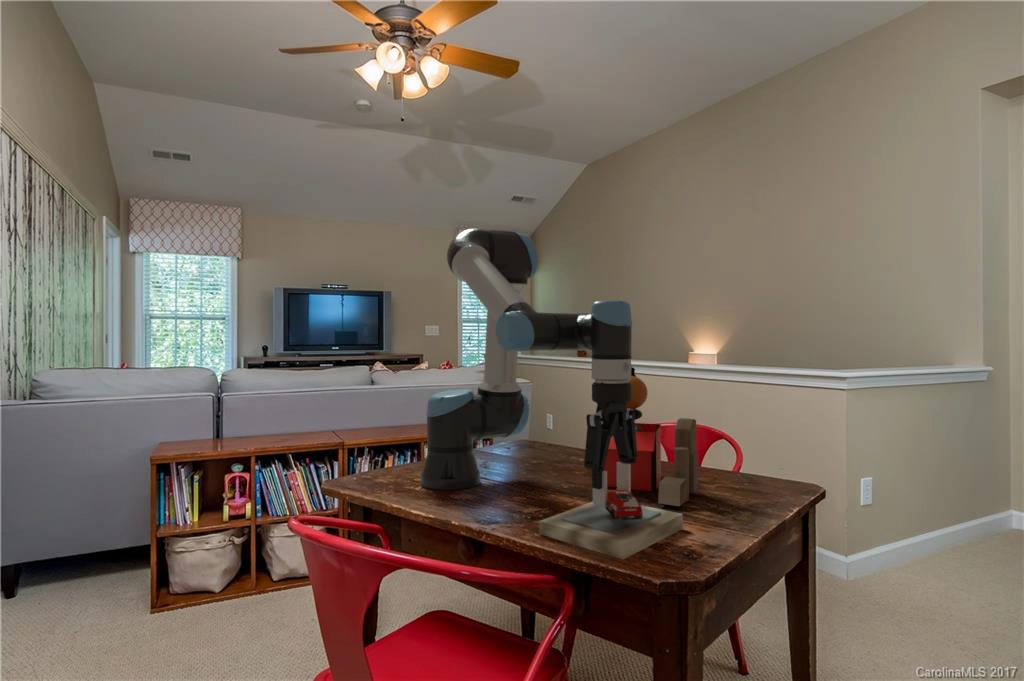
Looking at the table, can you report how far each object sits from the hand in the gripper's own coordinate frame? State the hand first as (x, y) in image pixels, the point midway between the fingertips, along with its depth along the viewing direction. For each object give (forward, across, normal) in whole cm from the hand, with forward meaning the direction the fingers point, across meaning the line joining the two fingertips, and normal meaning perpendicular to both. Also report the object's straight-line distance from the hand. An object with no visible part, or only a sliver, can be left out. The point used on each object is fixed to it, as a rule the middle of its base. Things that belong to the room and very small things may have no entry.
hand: (612, 500), depth 108 cm
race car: (+4, 0, 0) cm, 4 cm away
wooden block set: (+6, +30, +1) cm, 30 cm away
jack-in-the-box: (+6, +37, +18) cm, 42 cm away
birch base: (+6, 0, 0) cm, 6 cm away
